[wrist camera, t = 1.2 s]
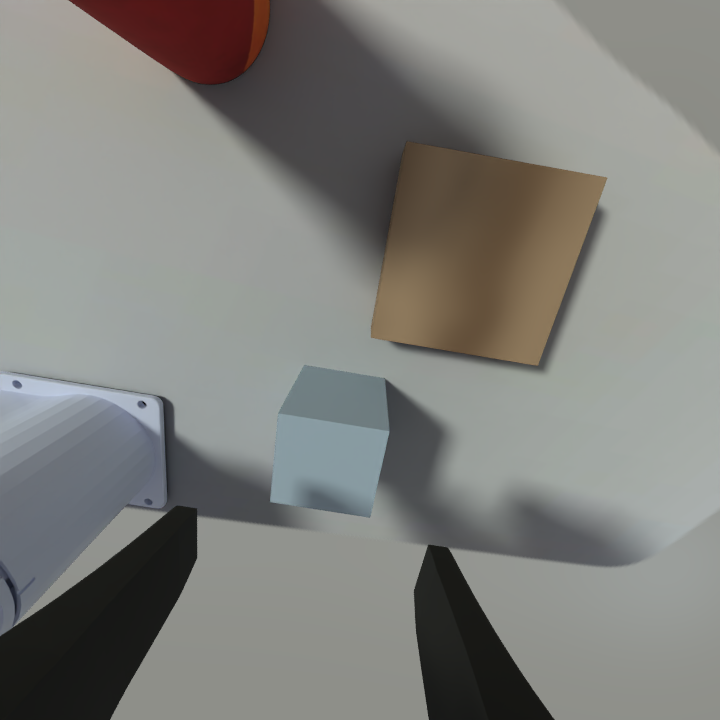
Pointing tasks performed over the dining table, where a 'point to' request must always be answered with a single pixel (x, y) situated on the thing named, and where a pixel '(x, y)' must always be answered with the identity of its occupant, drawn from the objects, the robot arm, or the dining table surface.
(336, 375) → the block
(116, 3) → the paper cup
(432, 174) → the base
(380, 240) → the dining table surface
